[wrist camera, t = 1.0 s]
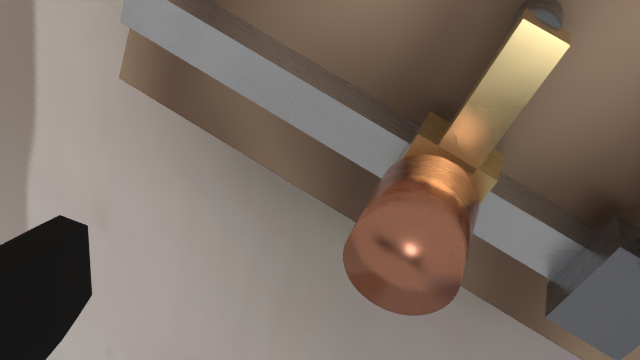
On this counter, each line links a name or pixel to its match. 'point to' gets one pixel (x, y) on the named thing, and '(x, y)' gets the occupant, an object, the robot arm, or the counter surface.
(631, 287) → the fixed leg
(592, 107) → the hole plate
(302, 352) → the counter surface
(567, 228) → the steel beam
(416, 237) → the sliding leg
